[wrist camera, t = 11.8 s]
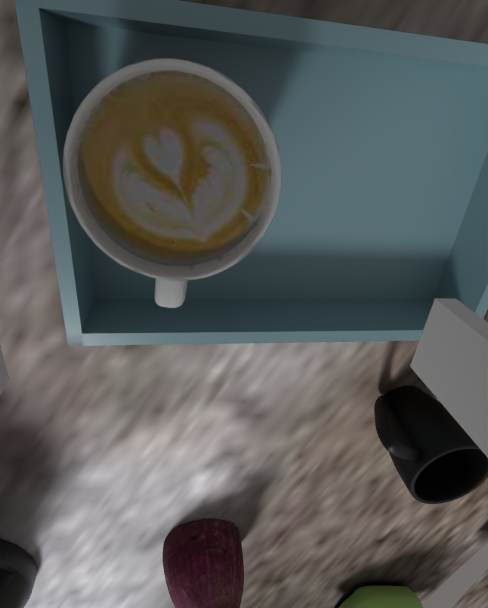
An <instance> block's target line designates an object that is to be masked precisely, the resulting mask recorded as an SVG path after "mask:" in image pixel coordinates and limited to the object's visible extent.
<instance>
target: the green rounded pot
mask: <svg viewBox="0 0 488 608" xmlns="http://www.w3.org/2000/svg"><path fill="white" fill-rule="evenodd" d="M338 608H423V607H422V604H421V602H420V600H419V599H418V597H417V596H416V595H415V594H414V592H413V591H412V590H411V589H410V588H409V587H405V586H388V585H380V586H364V587H359V588H357V589H356V590H355V591H354V593H353V594H352V595H350V596H349V597H348V598H347V599H346V600H345V601H344V602H343V603H342V604H341V605H340V606H339V607H338Z"/></svg>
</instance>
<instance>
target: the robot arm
mask: <svg viewBox="0 0 488 608" xmlns="http://www.w3.org/2000/svg"><path fill="white" fill-rule="evenodd" d="M410 367H411V368H412V369H413V370H414V372H415V373H416V374H417V375H418V376H419V378H420V379H421V380H422V381H423V382H424V383H425V385H426V386H427V387H428V388H429V389H430V390H431V392H432V393H433V394H434V395H435V396H436V398H437V399H438V400H439V401H440V402H441V403H442V405H443V406H444V407H445V408H446V409H447V410H448V412H449V413H450V414H451V415H452V416H453V417H454V419H455V420H456V421H457V422H458V423H459V425H460V426H461V427H462V428H463V429H464V430H465V432H466V433H467V434H468V435H469V436H470V437H471V439H472V440H473V441H474V442H475V443H476V445H477V446H478V447H479V448H480V449H481V450H482V452H483V453H484V454H485V455H486V456H487V457H488V322H487V321H485V320H484V319H483V318H481V317H480V316H479V315H477V314H476V313H475V312H473V311H472V310H470V309H469V308H468V307H466V306H465V305H464V304H462V303H461V302H460V301H458V300H457V299H446V298H435V300H434V302H433V305H432V308H431V311H430V313H429V316H428V319H427V321H426V324H425V327H424V330H423V332H422V335H421V338H420V341H419V343H418V346H417V349H416V351H415V354H414V357H413V360H412V362H411V365H410ZM8 380H9V377H8V373H7V370H6V366H5V362H4V358H3V354H2V350H1V346H0V394H1V392H2V391H3V389H4V387H5V385H6V383H7V382H8ZM36 575H37V567H36V564H35V562H34V560H33V559H32V558H31V557H30V556H29V555H28V554H27V553H26V552H25V551H23V550H22V549H20V548H18V547H16V546H14V545H12V544H9V543H7V542H4V541H0V608H24V606H25V605H26V603H27V601H28V600H29V598H30V595H31V593H32V589H33V586H34V582H35V579H36Z"/></svg>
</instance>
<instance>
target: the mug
mask: <svg viewBox="0 0 488 608" xmlns="http://www.w3.org/2000/svg"><path fill="white" fill-rule="evenodd" d="M374 412H375V425H376V430H377V434H378V436H379V438H380V440H381V442H382V444H383V446H384V447H385V448H386V449H387V450H388V451H389V453H390V456H391V458H392V461H393V463H394V465H395V467H396V469H397V471H398V473H399V474H400V476H401V478H402V480H403V481H404V483H405V485H406V487H407V488H408V490H409V492H410V493H411V495H412V496H413V497H414V498H415V499H416V500H418V501H420V502H422V503H426V504H439V503H445V502H449V501H452V500H455V499H458V498H460V497H462V496H464V495H466V494H468V493H470V492H471V491H473V490H474V489H476V488H477V487H478V486H479V485H480V484H481V483H483V482H484V480H485V479H486V478H487V477H488V457H487V456H486V455H485V454H484V453H483V452H482V450H481V449H480V448H479V447H478V446H477V445H476V443H475V442H474V441H473V440H472V439H471V437H470V436H469V435H468V434H467V433H466V432H465V430H464V429H463V428H462V427H461V426H460V425H459V423H458V422H457V421H456V420H455V419H454V417H453V416H452V415H451V414H450V413H449V412H448V410H447V409H446V408H445V407H444V406H443V405H442V403H440V402H439V401H437V400H436V399H434V398H433V397H431V396H430V395H428V394H427V393H425V392H423V391H422V390H421V389H420V388H418V387H415V386H402V387H399V388H396V389H394V390H392V391H391V392H389V393H388V394H387V395H382V396H380V397H378V399H377V400H376V402H375V407H374Z"/></svg>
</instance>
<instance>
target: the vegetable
mask: <svg viewBox="0 0 488 608" xmlns="http://www.w3.org/2000/svg"><path fill="white" fill-rule="evenodd" d="M163 567H164V574H165V579H166V583H167V587H168V590H169V593H170V597H171V599H172V602H173V604H174V606H175V608H240V603H241V598H242V593H243V585H244V565H243V554H242V546H241V540H240V536H239V532H238V528H237V527H236V526H235V525H234V523H231V522H229V521H225V520H216V519H201V520H197V521H193V522H190V523H187V524H184V525H181V526H178V527H177V528H175V529H174V530H173V531H172V532H171V533H169V535H168V537H167V538H166V540H165V542H164V546H163Z"/></svg>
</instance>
